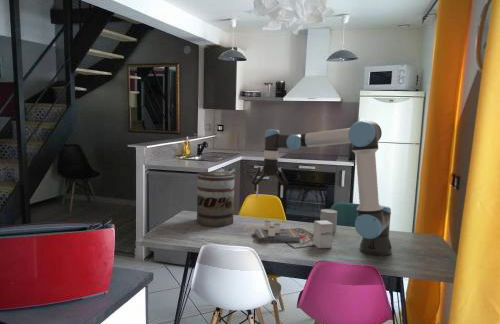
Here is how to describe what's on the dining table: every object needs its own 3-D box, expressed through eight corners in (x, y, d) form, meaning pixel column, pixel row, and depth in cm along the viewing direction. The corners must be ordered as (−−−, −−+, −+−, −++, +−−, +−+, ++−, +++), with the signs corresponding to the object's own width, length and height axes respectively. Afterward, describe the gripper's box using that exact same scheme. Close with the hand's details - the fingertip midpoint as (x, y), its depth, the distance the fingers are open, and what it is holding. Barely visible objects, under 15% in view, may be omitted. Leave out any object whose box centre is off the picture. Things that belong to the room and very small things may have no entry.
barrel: (191, 225, 218) (192, 175, 214) (203, 216, 240) (204, 170, 236) (227, 228, 213) (229, 177, 210) (236, 218, 235) (238, 172, 232)
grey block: (337, 234, 209) (339, 213, 208) (321, 233, 209) (322, 212, 208) (334, 229, 218) (335, 209, 217) (318, 228, 219) (319, 208, 217)
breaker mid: (280, 233, 197) (280, 224, 197) (274, 233, 197) (274, 224, 197) (279, 231, 200) (279, 223, 200) (273, 231, 200) (273, 223, 199)
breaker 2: (274, 236, 191) (275, 227, 191) (268, 236, 191) (269, 227, 191) (273, 234, 194) (274, 226, 194) (268, 234, 194) (268, 226, 193)
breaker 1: (270, 230, 202) (271, 221, 202) (265, 230, 202) (265, 221, 201) (269, 228, 205) (270, 220, 204) (264, 228, 204) (264, 220, 204)
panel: (299, 241, 193) (300, 236, 193) (258, 242, 190) (259, 237, 190) (292, 233, 208) (292, 228, 207) (254, 233, 205) (254, 229, 204)
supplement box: (319, 248, 183) (320, 224, 182) (312, 244, 190) (313, 220, 189) (332, 247, 185) (333, 223, 184) (325, 243, 192) (326, 219, 191)
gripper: (292, 158, 202) (290, 196, 204) (247, 157, 199) (245, 195, 201) (295, 159, 194) (293, 198, 197) (248, 158, 191) (247, 198, 194)
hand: (269, 197), depth 199 cm, fingers open, 13 cm apart
